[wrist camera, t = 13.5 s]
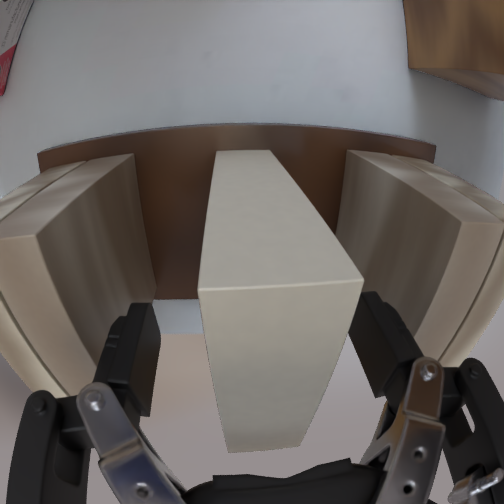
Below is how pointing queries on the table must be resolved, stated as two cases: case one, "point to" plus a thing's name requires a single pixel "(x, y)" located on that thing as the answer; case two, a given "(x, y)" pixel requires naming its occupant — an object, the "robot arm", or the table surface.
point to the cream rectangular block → (270, 301)
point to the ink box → (10, 33)
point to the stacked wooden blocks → (193, 225)
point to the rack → (458, 42)
